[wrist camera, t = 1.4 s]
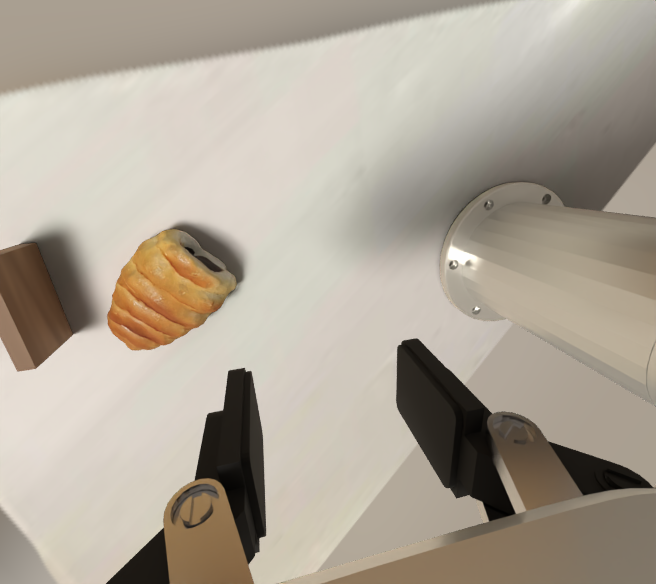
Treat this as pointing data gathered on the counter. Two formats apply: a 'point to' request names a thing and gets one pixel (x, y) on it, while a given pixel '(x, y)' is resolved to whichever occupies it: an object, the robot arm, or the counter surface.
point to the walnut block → (29, 308)
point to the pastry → (167, 291)
